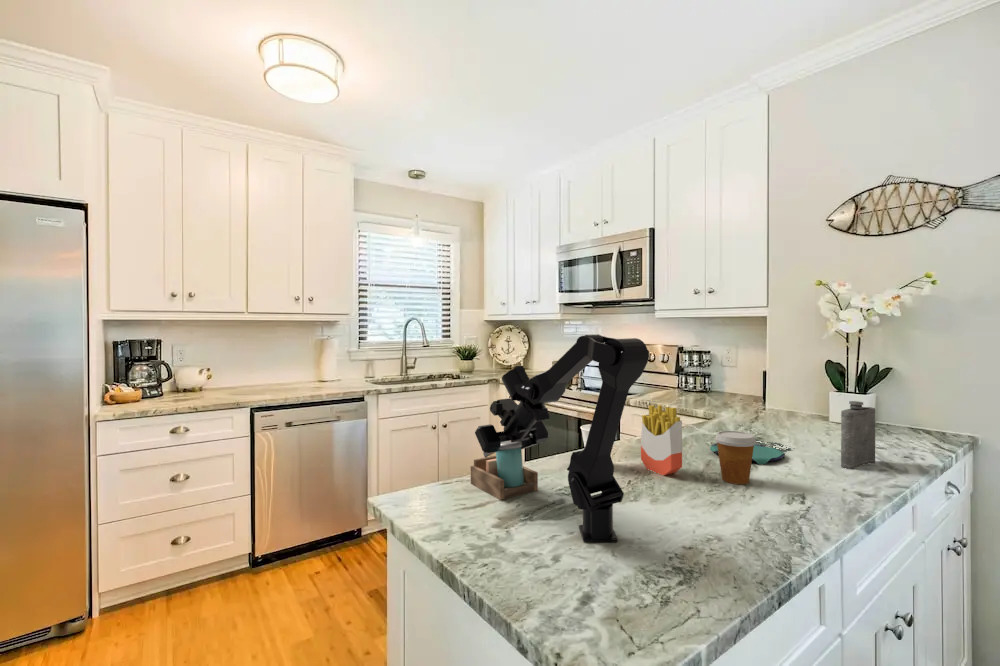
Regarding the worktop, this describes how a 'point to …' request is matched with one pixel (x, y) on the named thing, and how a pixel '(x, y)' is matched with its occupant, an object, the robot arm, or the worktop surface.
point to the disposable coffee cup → (735, 455)
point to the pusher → (491, 467)
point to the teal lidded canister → (510, 463)
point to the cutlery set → (762, 452)
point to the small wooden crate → (501, 481)
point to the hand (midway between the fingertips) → (500, 452)
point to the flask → (857, 435)
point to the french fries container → (661, 440)
